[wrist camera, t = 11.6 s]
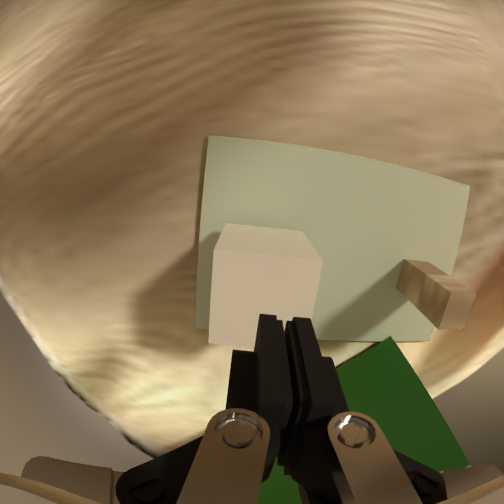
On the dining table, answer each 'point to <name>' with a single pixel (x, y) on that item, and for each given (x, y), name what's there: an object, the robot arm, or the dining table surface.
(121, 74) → the dining table surface
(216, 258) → the beige foam cube
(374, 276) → the mat
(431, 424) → the hardback book
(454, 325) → the post
